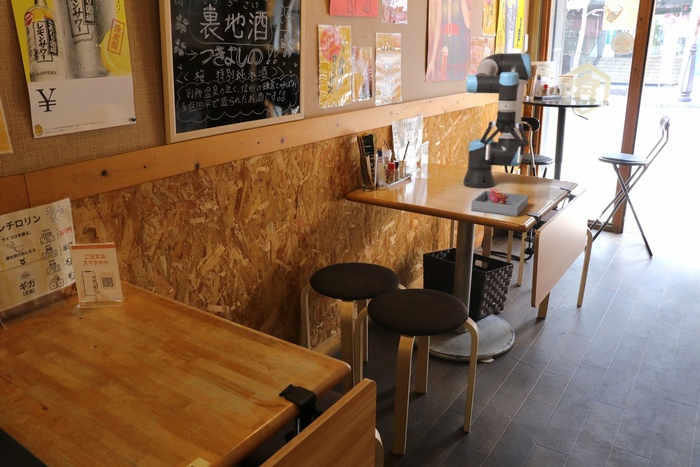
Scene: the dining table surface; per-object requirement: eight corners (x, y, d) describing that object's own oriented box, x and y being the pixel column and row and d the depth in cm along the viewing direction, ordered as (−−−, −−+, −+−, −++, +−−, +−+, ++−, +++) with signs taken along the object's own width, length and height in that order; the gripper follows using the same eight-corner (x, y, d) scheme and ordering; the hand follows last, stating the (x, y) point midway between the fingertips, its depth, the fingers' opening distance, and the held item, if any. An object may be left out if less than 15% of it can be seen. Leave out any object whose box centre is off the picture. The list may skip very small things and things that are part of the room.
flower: (491, 206, 245) (503, 191, 244) (479, 197, 253) (490, 182, 251) (503, 215, 251) (515, 200, 250) (490, 206, 258) (501, 192, 257)
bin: (471, 210, 248) (471, 200, 247) (484, 200, 265) (485, 190, 263) (516, 217, 239) (517, 206, 238) (527, 205, 256) (528, 195, 254)
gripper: (474, 110, 242) (472, 159, 250) (535, 113, 231) (530, 165, 238) (480, 108, 249) (477, 156, 256) (539, 111, 237) (534, 161, 244)
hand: (502, 160), depth 247 cm, fingers open, 13 cm apart
